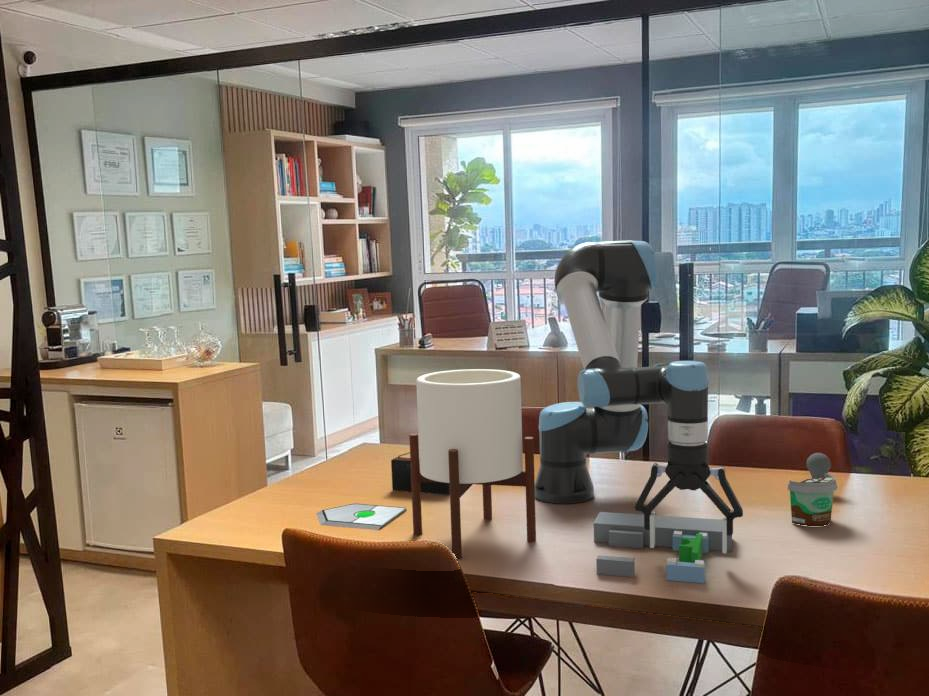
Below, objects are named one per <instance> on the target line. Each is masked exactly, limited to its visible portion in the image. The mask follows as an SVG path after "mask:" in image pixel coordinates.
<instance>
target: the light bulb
mask: <svg viewBox="0 0 929 696" xmlns="http://www.w3.org/2000/svg"><path fill="white" fill-rule="evenodd" d="M806 467H807V469H808V471H809V474H810V475H811V479H817V478H821V477H824V474H825V473H827V474H829V471H830V470H831V467H832V463H831V459H830V458H829V457H828V456H827V455H826V454H824V453H822V452H815V453H813V454H812V453H811V454H810V456H808V457H807V460H806Z"/></svg>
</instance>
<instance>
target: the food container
mask: <svg viewBox="0 0 929 696" xmlns="http://www.w3.org/2000/svg"><path fill="white" fill-rule="evenodd" d="M835 478H836V477H834V475H832V474H830V473H825V474H824V477H821V478H817V479H812V478H806V479H803V480H802V481H800V482H799V481H795V480H794V481H793V480H789V481H788V484H787V485H788V486H787V490H788V491H789V497H790V514H791V524H792V523H795V524H800V525H807V526H824V525H827V526H829V525H830V524H831V523H830V522H832V521H831V520H832V514H833V513H832V512H833V502H834V494H835V493H834V492H835V491H837V489H838V485H837V481H836V479H835ZM829 523H830V524H829ZM795 524H794V525H795ZM828 524H829V525H828ZM824 527H825V526H824Z"/></svg>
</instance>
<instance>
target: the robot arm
mask: <svg viewBox="0 0 929 696" xmlns="http://www.w3.org/2000/svg"><path fill="white" fill-rule="evenodd" d="M553 281H554V288H555V292H556V295H557V298H558V299H559V300H560V301H561V302H562V303H564V306H565V307H564V308H565V310H566V314H567V317H568V320H569V324H570V327H571V330H572V334H573V338H574V342H575V344H576V347H577V350H578V353H579V354H578V355H579V357H580V360H581V363H582V367H583V370H581V371H580V372H579V374H578V377H577V390H578V398H579V400H580V401H567V402H566V401H565V402H558V403H555V404H551V405H547V406H546V407H544V408H543V409H542V410H541V411H540V413H539V420H538V430H539V432H538V433H539V469H538V472H537V476H536V477H535V479H536V480H535V499H537V500H539V501H542V502H546V503H549V504H561V505H562V504H578V503H583V502H586V501H589V500H591V499H592V498H594V497H595V496H594V495H595V487H594V483H593V481H592V477H591V475H590V472H589V469H588V466H587V455H589V454H608V453H611V454H612V453H622V454H623V453H627V452H634V451H637V450H639V449H640V448H642V447H643V446H644V444H645V442H646V439H647V436H648V429H649V422H648V418H649V417H648V412H647V409H646V408H645V406H644V405H650V404H651V405H653V404H667V405H666V406H667V439H668V440H669V441H668V443H667V465H666V466H665V465H660V464H658V463H656V462H654V463H652V466H651V469H650V476H649V478H648V480H647V482H646V484H645V486H644V488H643V490H642V491H641V493H640V495H639V497H638V499H637V501H636V504H635V505H634V510H635V511H636V512H641V513H642V515H644V528H645V530H650V545H649V548H650V549H654V548H655V547H656V546H655V515H656V511H654V509H655V508H657V506H658V505H659V504H660V503H661V502H662V501H664V500H665V498H666V497H667V496H668V495H669V493H670V492H672V491H673V490H674V488H677V489H679V490H681V491H685V490H690V491H698V490H701V491H702V493H704V494H705V495H706V497H708V499H709V500H710V501H711V502H712V503H713V505H715V506H716V508H717V510H719V511H720V513H721V514H722V519H721V520H722V551H721V552H722V554H727V553H728V551H727V535H730V536H732V537H733V534H734V520H735V519H736V518H742V517H743V516H744V510H743V508H742V506H741V504H740V501H739V500H738V498H737V496H736V494H735V492H734V490H733V488H732V486H731V485H730V482H729V481H728V479H727V476H726V468H725V467H724V466H723V465H720V466H718V467H710V466H709V445H708V443H707V441H708V440H709V415H708V413H709V412H708V411H709V408H708V407H709V384H710V382H709V375H708V367H707V364H706V363H704V362H702V361H696V360H676V361H671V362H670V363H656V364H654V365H652V366H641V367H639V366H638V357H639V355H638V354H639V342H640V341H639V340H640V327H641V310H642V309H641V308H642V305H643V303H644V302H646V301H647V300H648V299H649V291H653V290H655V289H656V288H657V287H658V286H657V285H658V283H659V267H658V260H657V258H656V253H655V252H654V249H653V247H652V246H651V244H650V243H649V242H646V241H644V240H631V239H627V240H611V241H585V242H582V243H579V244H576V245H575V246H573V247H572V248H570V249H569V250H568V251H567V252H566V253H565V254H564V255H563V256H562V258H561V259H560V260H559V262H558V265H557V267H556V269H555V273H554V280H553ZM597 292H598V293H597ZM600 299H601V301H602V302H603V303H604V311H603V308H602V305H601V303H600ZM663 473H665V475H666V476H667V477H668V478H669V480H668V481H667V482H666V484H665V485H664V486H663V487H662V488H661V489H660V490H659V492H657V494H656V495H655V496H654V497H653V498H652V499H651V500H650V501H649V502H648V504H645V502H646V500H647V498H648V497H649V494H650V492H651V491H652V489H653V486H654V484H655V483H656V480H657V478H659V477H661V476H662V474H663ZM710 476H713V477H714V479H715V480H717V481H719V485H720V487H721V489H722V490H723V492H724V494H725V496H726V498H727V500H728V502H729V504H730V506H731V508H732V509H731V508H730V507H729V506H728V505H727V503H726V502H725V501H724V500H723V499H722V498H721V497H720V496H719V494H718V493H717V492H716V491H715V489H713V487H712V486H711V484H710V483H709V481H707V480H708V478H710Z"/></svg>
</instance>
